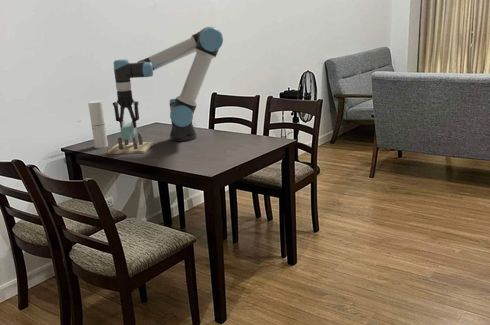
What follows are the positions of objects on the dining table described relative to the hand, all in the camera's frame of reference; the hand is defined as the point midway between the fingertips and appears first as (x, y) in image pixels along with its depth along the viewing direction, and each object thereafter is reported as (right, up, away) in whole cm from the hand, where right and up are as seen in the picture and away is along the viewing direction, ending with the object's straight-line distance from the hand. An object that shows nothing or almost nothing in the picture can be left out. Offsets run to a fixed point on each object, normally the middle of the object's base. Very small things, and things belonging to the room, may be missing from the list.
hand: (129, 133), depth 261 cm
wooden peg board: (+1, -8, +2) cm, 8 cm away
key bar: (0, -1, +1) cm, 2 cm away
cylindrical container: (-18, -7, +11) cm, 22 cm away
